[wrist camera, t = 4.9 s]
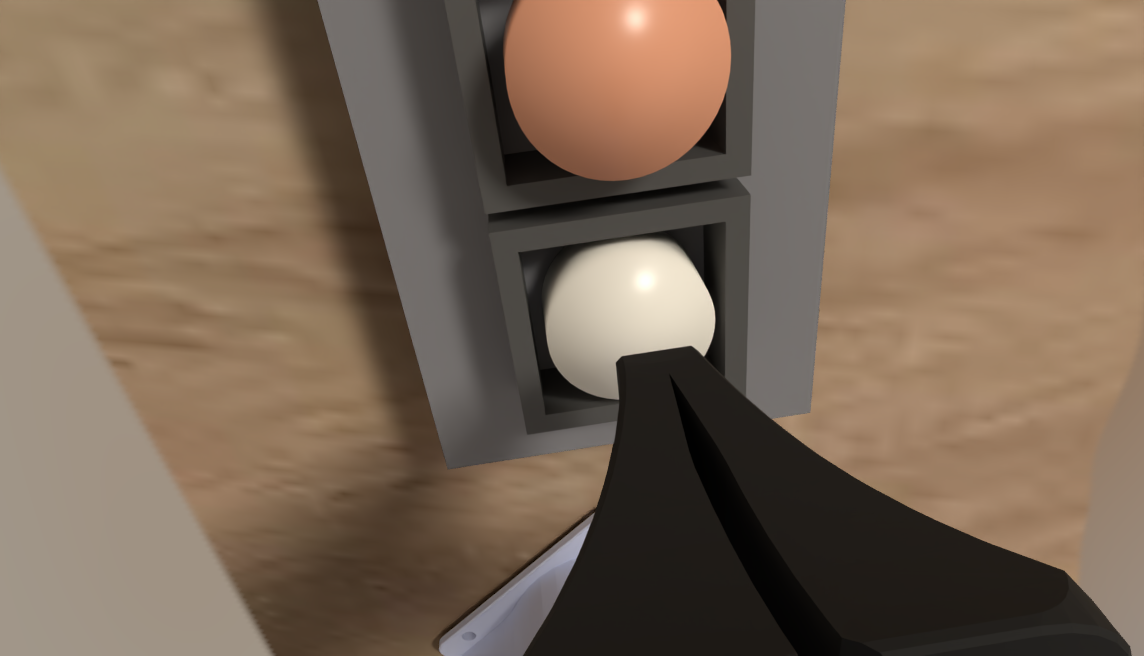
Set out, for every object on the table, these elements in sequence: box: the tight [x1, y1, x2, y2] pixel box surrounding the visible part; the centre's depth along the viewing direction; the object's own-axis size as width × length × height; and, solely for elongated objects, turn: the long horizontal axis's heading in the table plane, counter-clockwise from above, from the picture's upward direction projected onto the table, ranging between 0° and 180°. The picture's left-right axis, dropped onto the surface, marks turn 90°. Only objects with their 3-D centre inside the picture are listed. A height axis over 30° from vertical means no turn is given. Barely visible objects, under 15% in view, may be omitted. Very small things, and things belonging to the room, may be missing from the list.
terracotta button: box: [503, 0, 731, 181], centre depth 12 cm, size 4×4×2 cm
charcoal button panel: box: [318, 0, 846, 469], centre depth 15 cm, size 21×10×5 cm, turn 6°
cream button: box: [542, 231, 715, 400], centre depth 16 cm, size 4×4×2 cm
